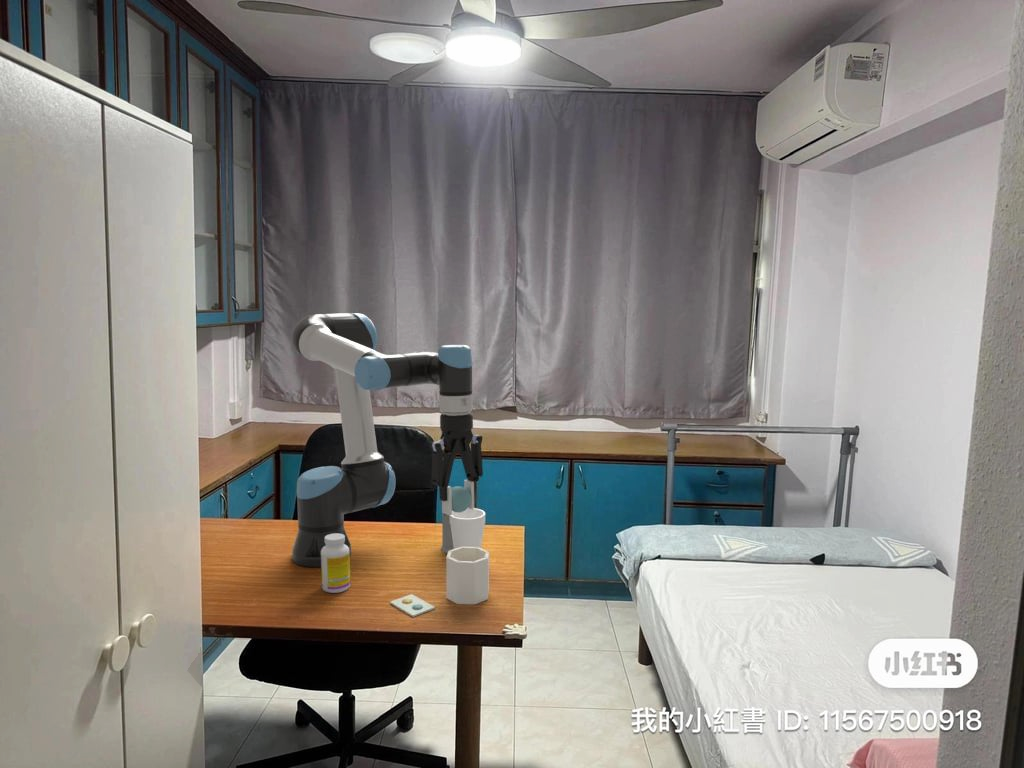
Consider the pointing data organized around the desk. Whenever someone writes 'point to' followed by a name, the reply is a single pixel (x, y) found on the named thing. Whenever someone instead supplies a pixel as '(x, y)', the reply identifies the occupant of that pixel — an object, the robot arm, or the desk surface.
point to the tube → (467, 575)
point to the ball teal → (460, 499)
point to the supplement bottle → (335, 564)
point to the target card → (412, 605)
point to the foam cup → (467, 528)
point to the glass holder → (446, 534)
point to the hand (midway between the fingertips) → (458, 510)
